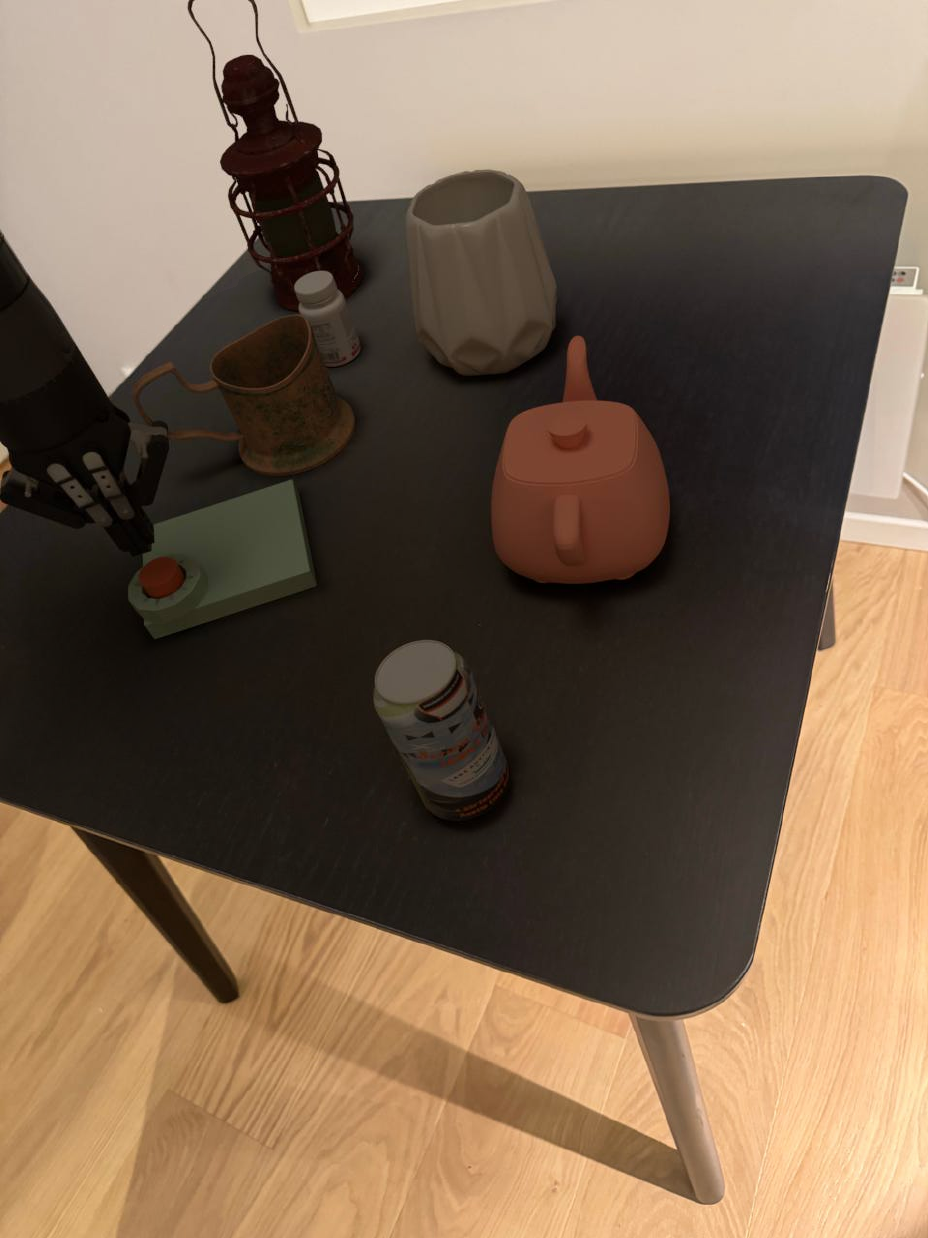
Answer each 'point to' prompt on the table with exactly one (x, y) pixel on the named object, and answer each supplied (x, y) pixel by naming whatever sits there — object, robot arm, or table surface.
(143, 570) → the button
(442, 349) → the vase
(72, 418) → the robot arm
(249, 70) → the lantern
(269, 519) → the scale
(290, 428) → the mug
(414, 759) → the beverage can
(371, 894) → the table surface
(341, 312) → the pill bottle
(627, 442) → the teapot
